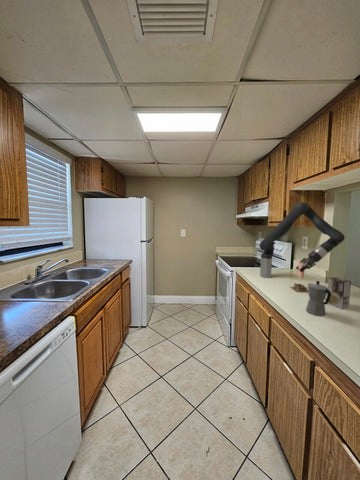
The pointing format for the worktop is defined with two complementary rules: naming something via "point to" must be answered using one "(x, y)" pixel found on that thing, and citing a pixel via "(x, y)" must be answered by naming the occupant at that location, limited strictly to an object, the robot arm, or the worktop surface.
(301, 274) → the salmon pink brick
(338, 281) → the coffee box
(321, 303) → the coffeepot
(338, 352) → the worktop surface
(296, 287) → the holder
